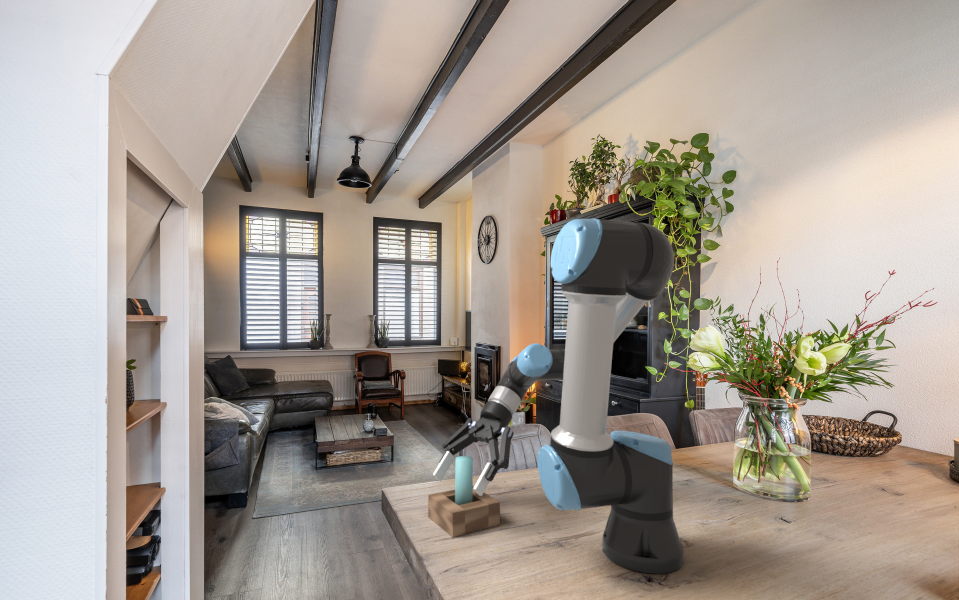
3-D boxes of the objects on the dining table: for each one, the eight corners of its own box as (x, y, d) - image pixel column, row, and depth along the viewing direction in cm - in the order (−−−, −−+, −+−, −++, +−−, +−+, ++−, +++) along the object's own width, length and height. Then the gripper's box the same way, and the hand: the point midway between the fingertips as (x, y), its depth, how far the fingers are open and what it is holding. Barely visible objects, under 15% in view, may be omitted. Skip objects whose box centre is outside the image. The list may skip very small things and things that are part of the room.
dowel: (475, 521, 105) (475, 459, 105) (460, 525, 102) (460, 462, 103) (466, 515, 108) (467, 455, 109) (451, 519, 106) (452, 457, 107)
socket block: (499, 524, 103) (499, 501, 103) (452, 537, 97) (452, 513, 97) (472, 506, 113) (472, 485, 114) (428, 516, 107) (428, 495, 107)
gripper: (546, 425, 109) (505, 508, 97) (472, 411, 126) (429, 481, 114) (533, 405, 105) (488, 489, 94) (458, 394, 122) (412, 463, 111)
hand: (456, 485), depth 104 cm, fingers open, 13 cm apart
